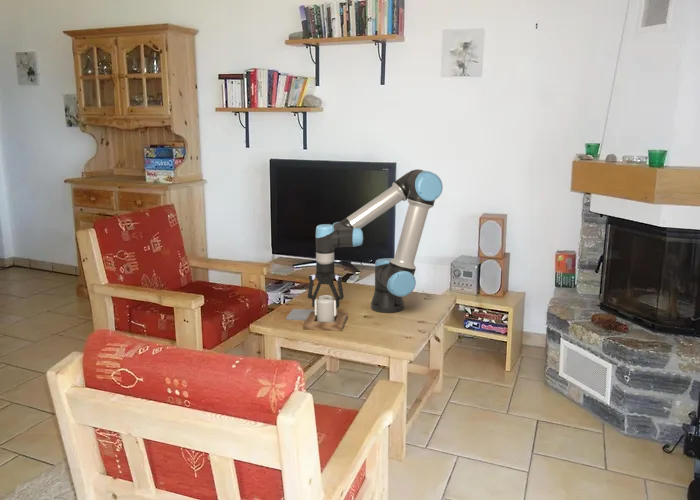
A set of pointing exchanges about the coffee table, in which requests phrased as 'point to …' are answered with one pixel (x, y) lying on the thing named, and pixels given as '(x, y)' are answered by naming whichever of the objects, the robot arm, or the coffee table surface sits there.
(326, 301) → the can
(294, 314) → the plate
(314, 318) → the pocket block
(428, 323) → the coffee table surface
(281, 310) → the coffee table surface
